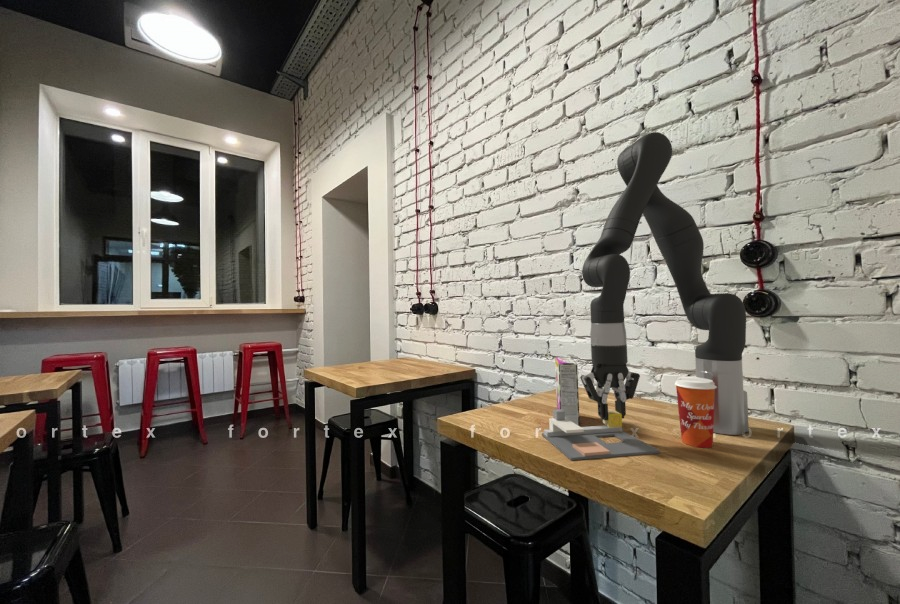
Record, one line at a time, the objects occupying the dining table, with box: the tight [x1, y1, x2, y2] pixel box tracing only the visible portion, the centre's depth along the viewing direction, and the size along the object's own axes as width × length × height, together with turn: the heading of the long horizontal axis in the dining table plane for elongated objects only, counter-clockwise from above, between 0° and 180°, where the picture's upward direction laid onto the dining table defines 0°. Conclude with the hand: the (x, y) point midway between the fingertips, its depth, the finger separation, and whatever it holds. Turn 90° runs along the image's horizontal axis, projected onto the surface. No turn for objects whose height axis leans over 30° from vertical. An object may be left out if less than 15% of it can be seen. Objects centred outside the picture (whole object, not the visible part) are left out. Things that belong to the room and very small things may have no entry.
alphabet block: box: [602, 409, 623, 428], centre depth 81 cm, size 3×3×3 cm
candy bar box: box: [554, 356, 581, 427], centre depth 96 cm, size 11×5×16 cm, turn 168°
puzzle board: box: [541, 424, 661, 461], centre depth 79 cm, size 20×15×2 cm
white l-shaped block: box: [548, 408, 584, 433], centre depth 81 cm, size 4×9×5 cm, turn 8°
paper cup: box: [673, 376, 717, 449], centre depth 78 cm, size 8×8×14 cm
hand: (612, 418), depth 81 cm, fingers closed on alphabet block, 3 cm apart
